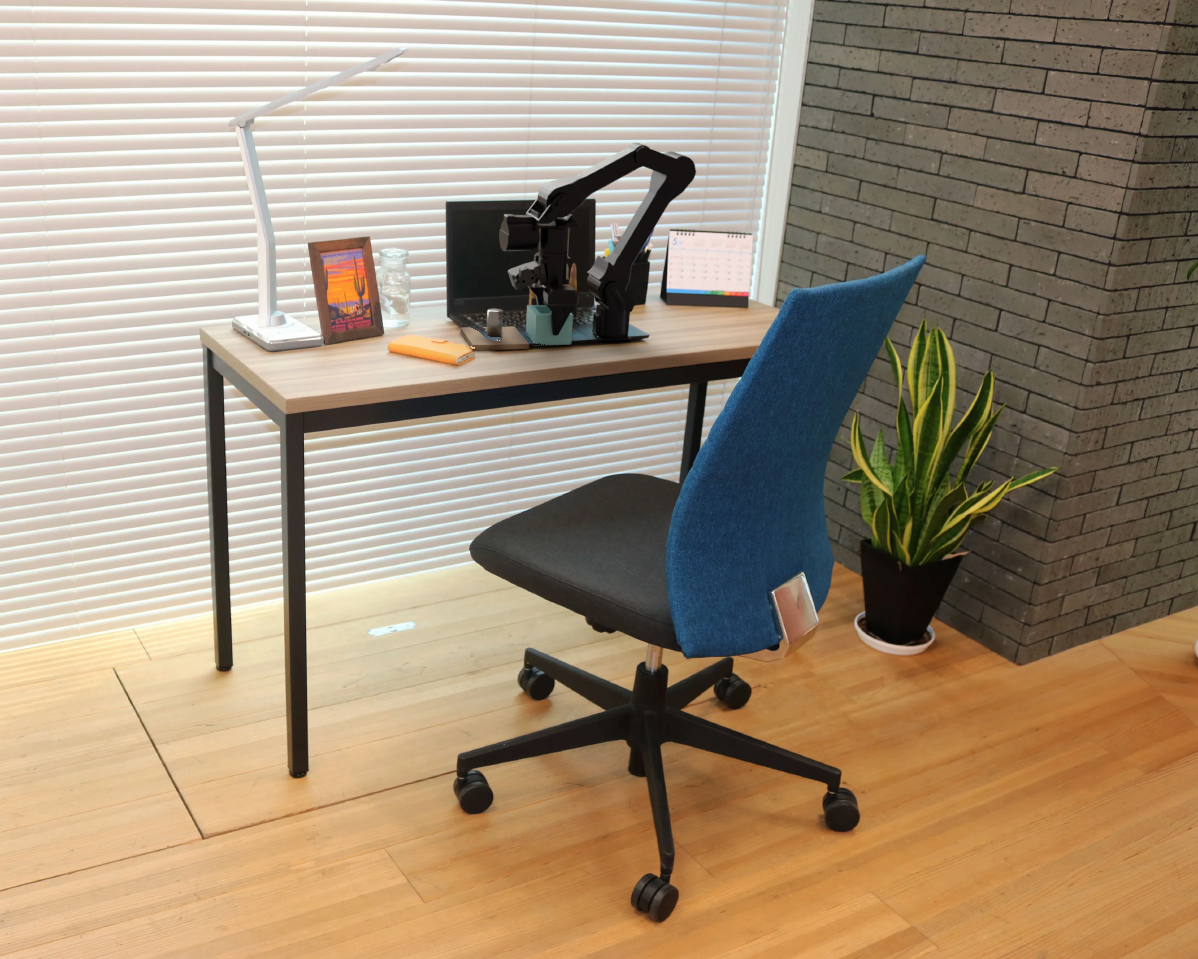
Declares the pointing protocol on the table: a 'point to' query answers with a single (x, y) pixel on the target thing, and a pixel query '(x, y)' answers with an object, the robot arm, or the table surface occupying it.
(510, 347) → the post base
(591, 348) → the table surface
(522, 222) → the robot arm
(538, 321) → the collar
